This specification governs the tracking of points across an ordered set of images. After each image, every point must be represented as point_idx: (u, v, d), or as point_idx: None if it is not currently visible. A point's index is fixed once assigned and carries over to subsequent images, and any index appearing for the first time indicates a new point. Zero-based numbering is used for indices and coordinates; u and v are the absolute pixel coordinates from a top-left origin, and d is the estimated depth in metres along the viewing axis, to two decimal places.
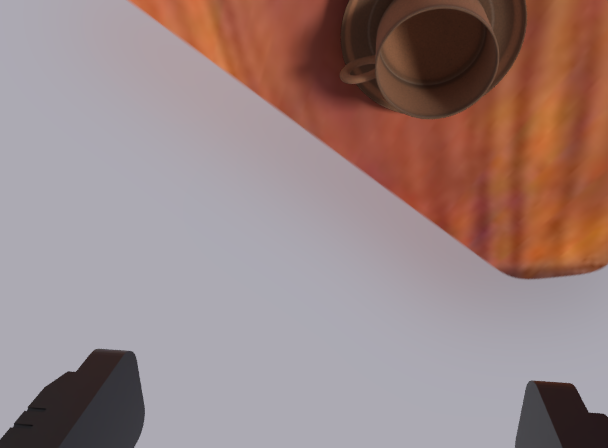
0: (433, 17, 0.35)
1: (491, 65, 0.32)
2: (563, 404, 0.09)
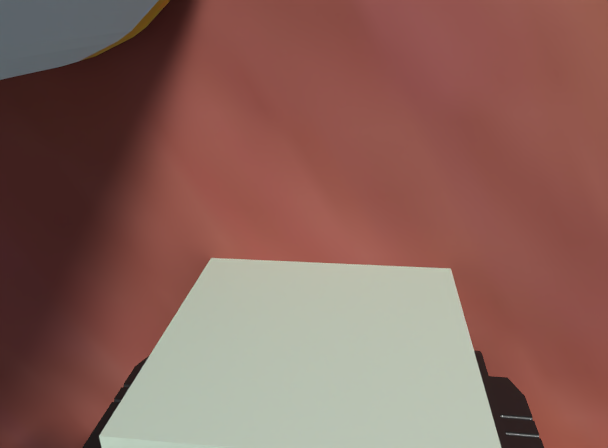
0: None
1: None
2: None
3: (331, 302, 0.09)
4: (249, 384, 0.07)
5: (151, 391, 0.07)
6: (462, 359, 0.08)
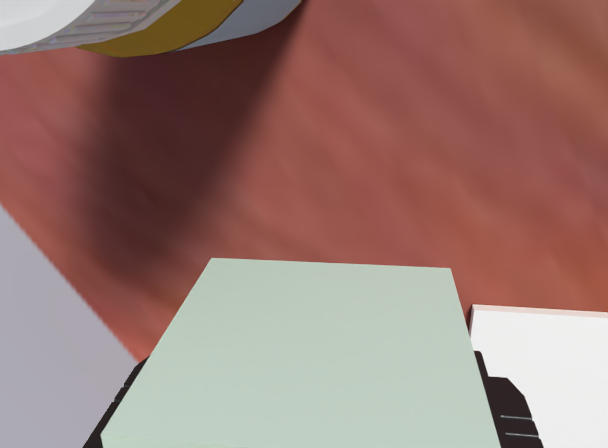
0: None
1: None
2: None
3: (330, 302, 0.10)
4: (249, 383, 0.08)
5: (152, 390, 0.07)
6: (461, 358, 0.08)
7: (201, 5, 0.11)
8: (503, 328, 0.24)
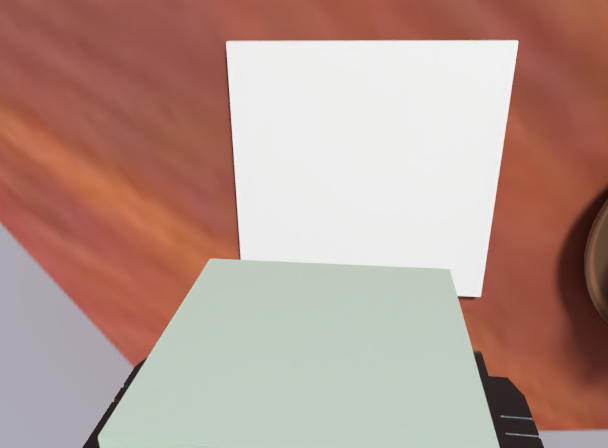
0: None
1: None
2: None
3: (330, 302, 0.09)
4: (248, 385, 0.07)
5: (150, 392, 0.07)
6: (461, 359, 0.08)
7: None
8: (257, 61, 0.24)
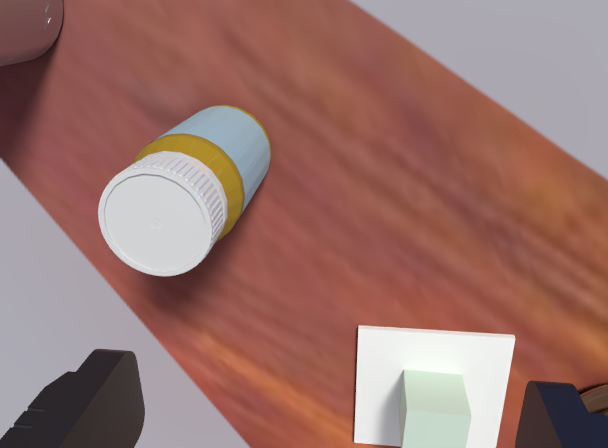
0: None
1: None
2: (563, 404, 0.09)
3: (436, 383, 0.44)
4: (427, 401, 0.42)
5: (410, 402, 0.42)
6: (464, 397, 0.43)
7: (218, 237, 0.31)
8: (374, 338, 0.45)
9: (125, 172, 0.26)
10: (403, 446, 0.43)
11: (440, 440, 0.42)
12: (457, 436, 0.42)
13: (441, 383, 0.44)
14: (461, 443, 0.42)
